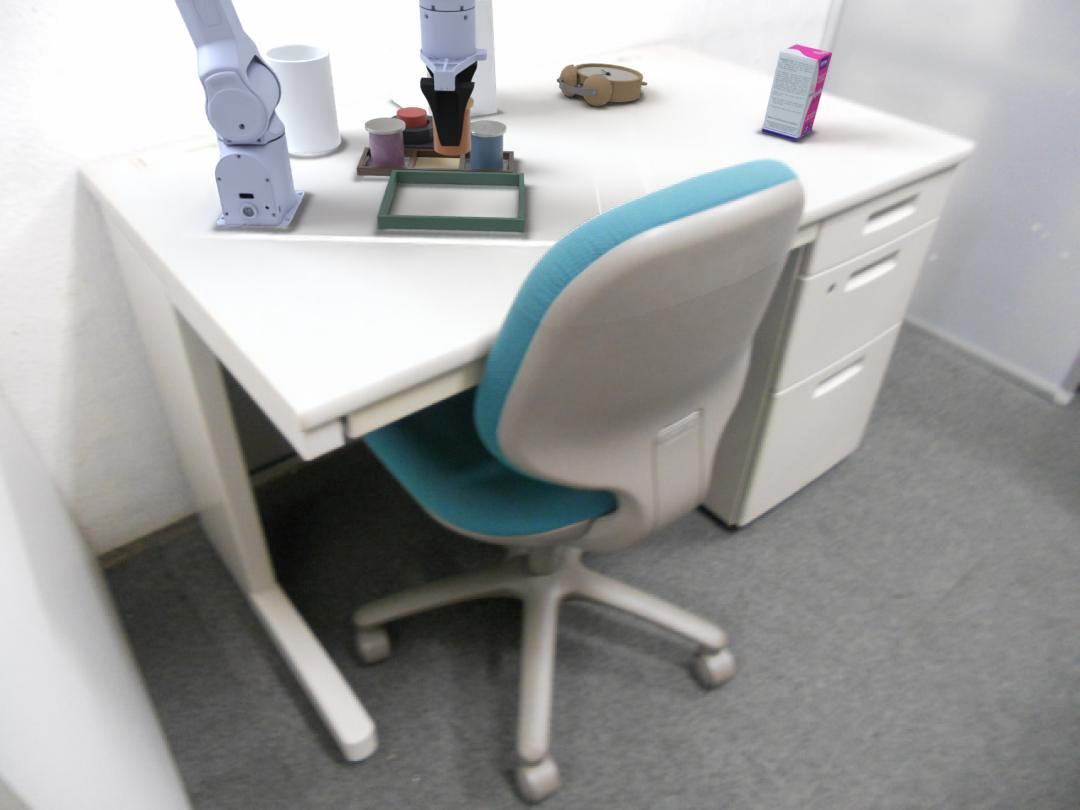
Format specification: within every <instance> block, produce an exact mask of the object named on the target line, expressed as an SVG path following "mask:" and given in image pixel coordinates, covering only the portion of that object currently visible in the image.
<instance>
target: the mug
mask: <svg viewBox="0 0 1080 810" xmlns="http://www.w3.org/2000/svg"><path fill="white" fill-rule="evenodd" d="M263 60H264V61H265V62H266V63H267V64H268V65H269V66H270V67H271V68H272V69H273V70H274V72H275V73H276V75H277V76H278V78H279V81H280V84H281V90H282V94H281V99H280V102H279V104H278V105H277V107H276V108H275V112H276V114H277V115H278V117H279V119H280V120H281V121H282V123H283V124H284V127H285V133H286V140H287V146H288V152H289V153H292V154H302V155H303V154H306V155H307V154H318V153H324V152H327V151H331V150H333V149H335V148H337V147H338V146H340V145H341V143H342V138H341V135H340V129H339V122H338V115H337V114H338V113H337V106H336V105H337V104H336V97H335V91H334V89H335V88H334V82H333V81H334V80H333V72H332V63H331V56H330V51H329V49H328V48H326V47H323V46H320V45H317V44H316V45H315V44H307V43H293V44H292V43H291V44H283V45H278V46H274V47H271V48H269V49H267V50H265V51H264V52H263Z"/></svg>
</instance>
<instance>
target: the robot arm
mask: <svg viewBox="0 0 1080 810" xmlns="http://www.w3.org/2000/svg"><path fill="white" fill-rule="evenodd" d="M174 2H175V4H176V7H177V9H178V11H179V14H180V16H181V18H182V20H183V23H184V24H185V27H186V30H187V32H188V33H189V36H190V38H191V40H192V42H193V45H194V47H195V50H196V61H197V74H198V79H199V81H200V84H201V85H202V88H203V91H204V94H205V101H204V109H205V115H206V118H207V120H208V121H207V122H208V123H209V124H210V126H211V128H212V129H213V130H214V131H215V135H216V140H217V143H218V148H219V158H218V160H217V162H216V165H215V169H214V178H215V179H214V180H215V183H216V187H217V193H218V196H219V197H218V198H219V201H220V205H221V210H222V214H221V216H220V217H219V218H218V220H217V221H216V225H217V227H234V228H237V227H238V228H242V227H243V226H262V227H263V226H264V227H288V226H290V224H291V222H292V220H293V219H294V216H295V214H296V212H297V210H298V208H299V207H300V204H301V202H302V201H303V198H304V197H305V195H306V190H302V189H301V190H299V189H298V190H297V189H295V184H294V183H295V182H294V178H293V172H292V166H291V165H292V164H291V160H290V152H288V146H287V140H286V133H285V127H284V124H283V123H282V121H281V120H280V119H279V117H278V115H277V114H276V112H275V108H276V107H277V105H278V104H279V102H280V99H281V94H282V90H281V84H280V81H279V78H278V76H277V75H276V73H275V72H274V70H273V69H272V68H271V67H270V66H269V65H268V64H267V63H266V62H265V60H264V58H263V57H262V56H261V53H260V51H259V48H258V46H257V44H256V43H255V41H254V40H253V39H252V38H251V37H250V36H249V35H248V34H247V32H245V30H244V28H243V26H242V23H241V20H240V18H239V16H238V13H237V10H236V8H235V5H234V3H233V1H232V0H174ZM419 9H420V27H421V46H422V48H421V49H420V59H421V60H422V61H423V62H424V63H425V64H426V68H427V70H428V72H429V74H430V76H431V78H425V77H422V78H421V80H420V88H421V91H422V93H423V95H424V96H425V98H426V100H427V102H428V104H429V106H430V109H431V111H432V114H433V118H434V122H435V126H436V130H437V135H438V138H439V142H440V144H441V146H460V142H461V137H462V131H463V123H464V115H465V110H466V106H467V103H468V100H469V98H470V96H471V94H472V92H473V89H474V85H475V82H471V81H472V78H473V76H474V73H475V71H476V69H477V61H484V60H486V59H487V50H486V49H477V48H476V23H475V0H419Z"/></svg>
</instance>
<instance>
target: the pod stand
mask: <svg viewBox="0 0 1080 810" xmlns="http://www.w3.org/2000/svg"><path fill="white" fill-rule="evenodd" d="M370 157H371V151H370V146H367V147H366V146H365V147H364V149H363V151H362V153H361V156H360V159H359V161H358V163H357V166H356V175H357V176H375V177H377V176H378V177H379V176H380V177H390V175H391V172H392V170H424V171H463V172H502V173H514V164H515V163H514V162H515V161H514V160H515V151H514V150H503V161H504V160H506V161H508V169H503V170H489V169H471V168H465V167H466V160H467V159H468V160H470V151H469V152H468V153H466V154H462V155H454V156H451V155H443V154H440V153H437V152H436V151H435V150H434V149H411V148H404V157H405V158H410V159H409V161H408V165H407V167H405V166H404V167H372V165H371V166H369V165H368V161H369V158H370ZM367 165H368V166H367Z"/></svg>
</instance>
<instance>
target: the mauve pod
mask: <svg viewBox="0 0 1080 810" xmlns="http://www.w3.org/2000/svg"><path fill="white" fill-rule="evenodd" d="M405 127H406V125H405V122H404V121H402V120H400V119H396V118H391V117H377V118H373V119H372V118H371V119H369V120H367V121H366V122H365V123H364V129H365V131H366V132H368V139H369V147H370V151H371V156H370V161H371V166H372V167H405V166H406V160H405V159H406V157H404V143H403V130H404V129H405Z"/></svg>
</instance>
